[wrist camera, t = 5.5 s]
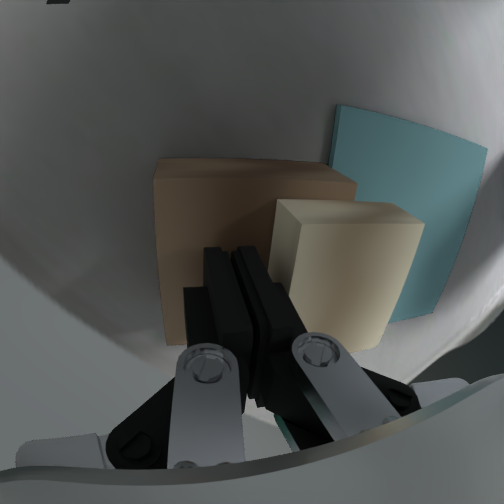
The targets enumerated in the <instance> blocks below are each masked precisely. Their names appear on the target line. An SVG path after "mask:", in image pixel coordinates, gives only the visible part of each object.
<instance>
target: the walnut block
mask: <svg viewBox="0 0 504 504" xmlns="http://www.w3.org/2000/svg"><path fill="white" fill-rule="evenodd" d="M357 185H358V183H356V182H355V181H353V180H351V179H350V178H348V177H346V176H345V175H343V174H341V173H339V172H338V171H336V170H334V169H332V168H331V167H329V166H327V165H325V164H324V163H316V162H303V161H288V160H269V159H242V158H169V159H158V163H157V166H156V170H155V174H154V177H153V197H154V220H155V237H156V251H157V263H158V275H159V285H160V295H161V303H162V312H163V320H164V328H165V335H166V342H167V345H184V344H187V339H186V329H185V317H184V299H183V287H203V250H204V247H221V249H222V251H227V252H228V255H229V258H230V259H231V251H237V247H238V246H255V247H256V249H257V251H258V253H259V255H260V257H261V259H262V261H263V263H264V265H265V267H266V269H267V271H268V265H269V258H270V251H271V243H272V236H273V228H274V221H275V213H276V205H277V199H306V200H343V201H354V200H355V195H356V190H357Z"/></svg>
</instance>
